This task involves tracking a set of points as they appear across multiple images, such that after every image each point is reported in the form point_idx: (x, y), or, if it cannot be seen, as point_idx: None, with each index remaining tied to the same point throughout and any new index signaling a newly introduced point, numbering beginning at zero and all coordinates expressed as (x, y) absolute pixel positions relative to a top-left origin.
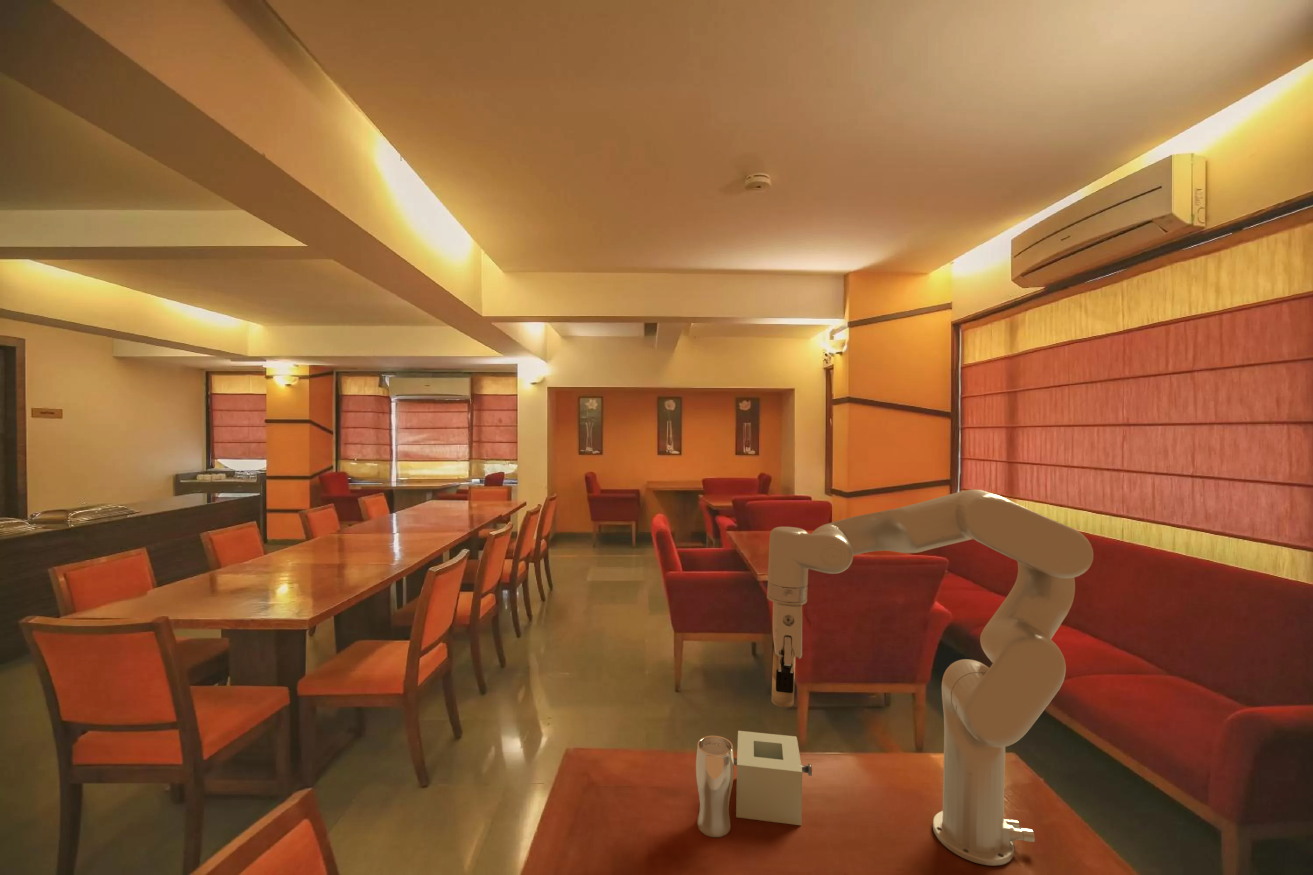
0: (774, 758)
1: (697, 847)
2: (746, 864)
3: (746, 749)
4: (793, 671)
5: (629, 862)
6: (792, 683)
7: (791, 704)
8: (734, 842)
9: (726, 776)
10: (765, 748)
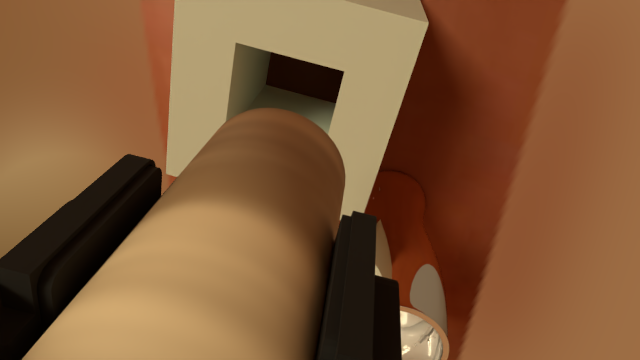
0: (249, 53)
1: (445, 242)
2: (514, 166)
3: None
4: (343, 355)
5: (458, 340)
6: (370, 269)
7: (331, 145)
8: (446, 173)
9: (442, 282)
10: (235, 93)
